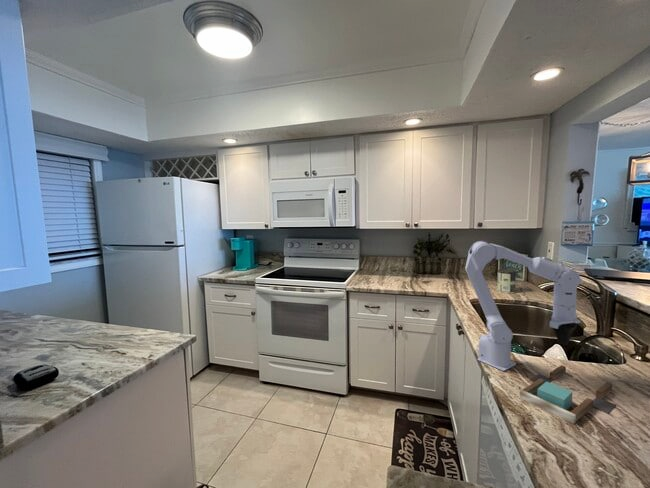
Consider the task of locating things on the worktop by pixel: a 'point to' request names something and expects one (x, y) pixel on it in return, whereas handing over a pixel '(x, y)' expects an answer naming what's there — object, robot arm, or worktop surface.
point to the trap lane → (564, 414)
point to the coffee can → (506, 281)
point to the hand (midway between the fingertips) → (562, 344)
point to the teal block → (555, 395)
